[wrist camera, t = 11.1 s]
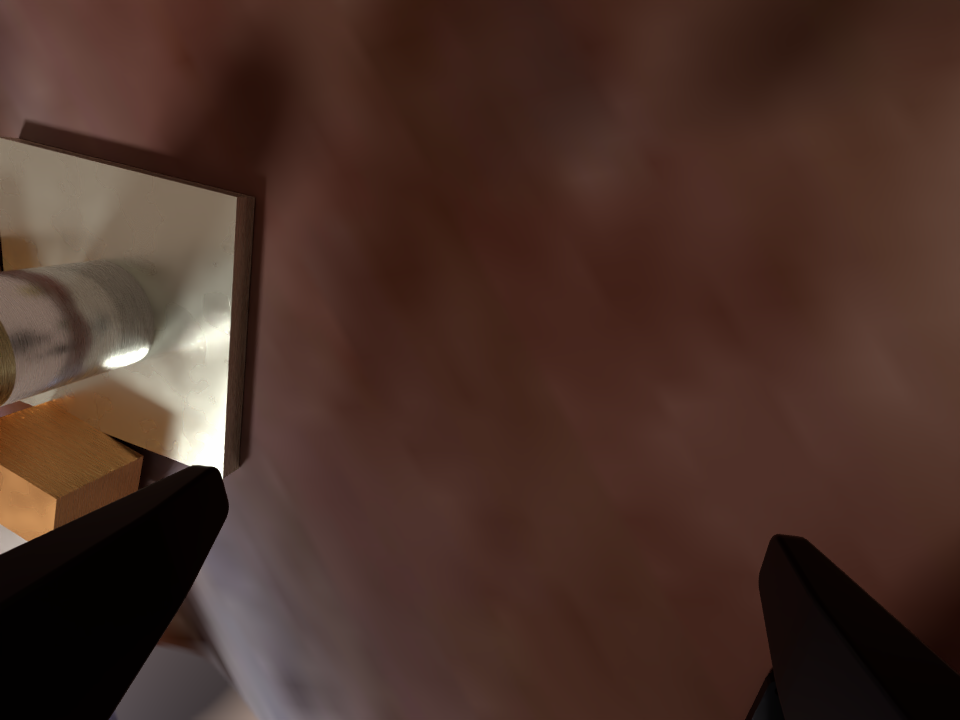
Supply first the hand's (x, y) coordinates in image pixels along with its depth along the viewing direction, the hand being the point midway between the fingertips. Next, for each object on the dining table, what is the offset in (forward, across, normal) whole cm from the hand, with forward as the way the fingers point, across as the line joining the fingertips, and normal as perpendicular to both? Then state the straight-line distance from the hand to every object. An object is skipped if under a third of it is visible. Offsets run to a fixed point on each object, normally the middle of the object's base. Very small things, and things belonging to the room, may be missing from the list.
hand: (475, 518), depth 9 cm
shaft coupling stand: (+13, +25, +8) cm, 29 cm away
